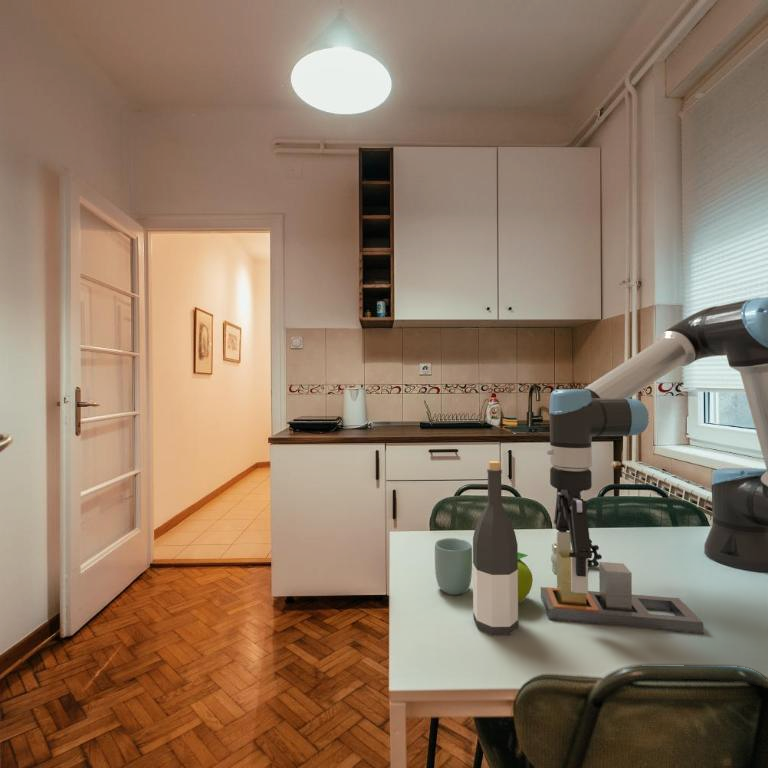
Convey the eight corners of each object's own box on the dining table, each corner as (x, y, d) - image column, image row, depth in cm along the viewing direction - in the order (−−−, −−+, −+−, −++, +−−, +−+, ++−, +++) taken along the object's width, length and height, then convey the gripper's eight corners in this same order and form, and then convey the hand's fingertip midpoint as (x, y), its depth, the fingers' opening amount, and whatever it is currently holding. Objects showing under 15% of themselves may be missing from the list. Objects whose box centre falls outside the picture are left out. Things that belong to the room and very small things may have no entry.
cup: (449, 602, 88) (449, 553, 88) (428, 587, 95) (428, 541, 95) (479, 594, 92) (479, 546, 92) (457, 579, 99) (456, 535, 99)
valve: (565, 580, 99) (602, 571, 104) (565, 551, 99) (601, 543, 104) (543, 569, 105) (579, 561, 110) (543, 542, 105) (578, 534, 110)
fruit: (480, 591, 93) (480, 544, 93) (524, 591, 93) (523, 544, 93) (489, 613, 84) (489, 561, 84) (537, 614, 84) (537, 562, 84)
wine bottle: (491, 640, 75) (490, 467, 75) (464, 618, 82) (463, 460, 83) (527, 630, 78) (526, 463, 78) (498, 609, 86) (498, 457, 86)
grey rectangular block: (623, 609, 86) (623, 563, 86) (631, 621, 81) (631, 572, 81) (599, 607, 86) (599, 561, 87) (606, 618, 82) (606, 571, 82)
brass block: (580, 605, 87) (580, 550, 87) (586, 617, 83) (585, 559, 83) (557, 603, 88) (556, 549, 88) (561, 614, 84) (561, 557, 84)
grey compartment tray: (678, 608, 86) (678, 596, 86) (703, 633, 77) (703, 620, 77) (540, 596, 91) (540, 585, 91) (548, 619, 82) (548, 607, 82)
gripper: (540, 456, 98) (540, 551, 98) (563, 479, 74) (564, 605, 74) (575, 457, 97) (576, 554, 97) (611, 481, 73) (612, 609, 73)
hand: (571, 576), depth 85 cm, fingers open, 12 cm apart
